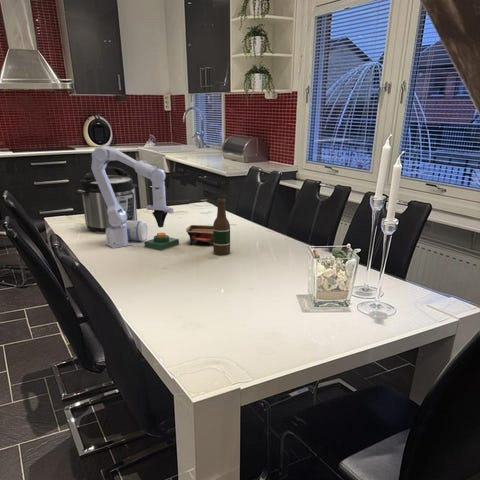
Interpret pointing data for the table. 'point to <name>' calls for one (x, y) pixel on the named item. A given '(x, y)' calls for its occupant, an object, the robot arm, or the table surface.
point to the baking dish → (200, 233)
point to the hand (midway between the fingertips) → (160, 227)
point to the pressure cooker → (96, 204)
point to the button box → (161, 243)
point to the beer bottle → (221, 230)
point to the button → (161, 235)
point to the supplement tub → (136, 230)
